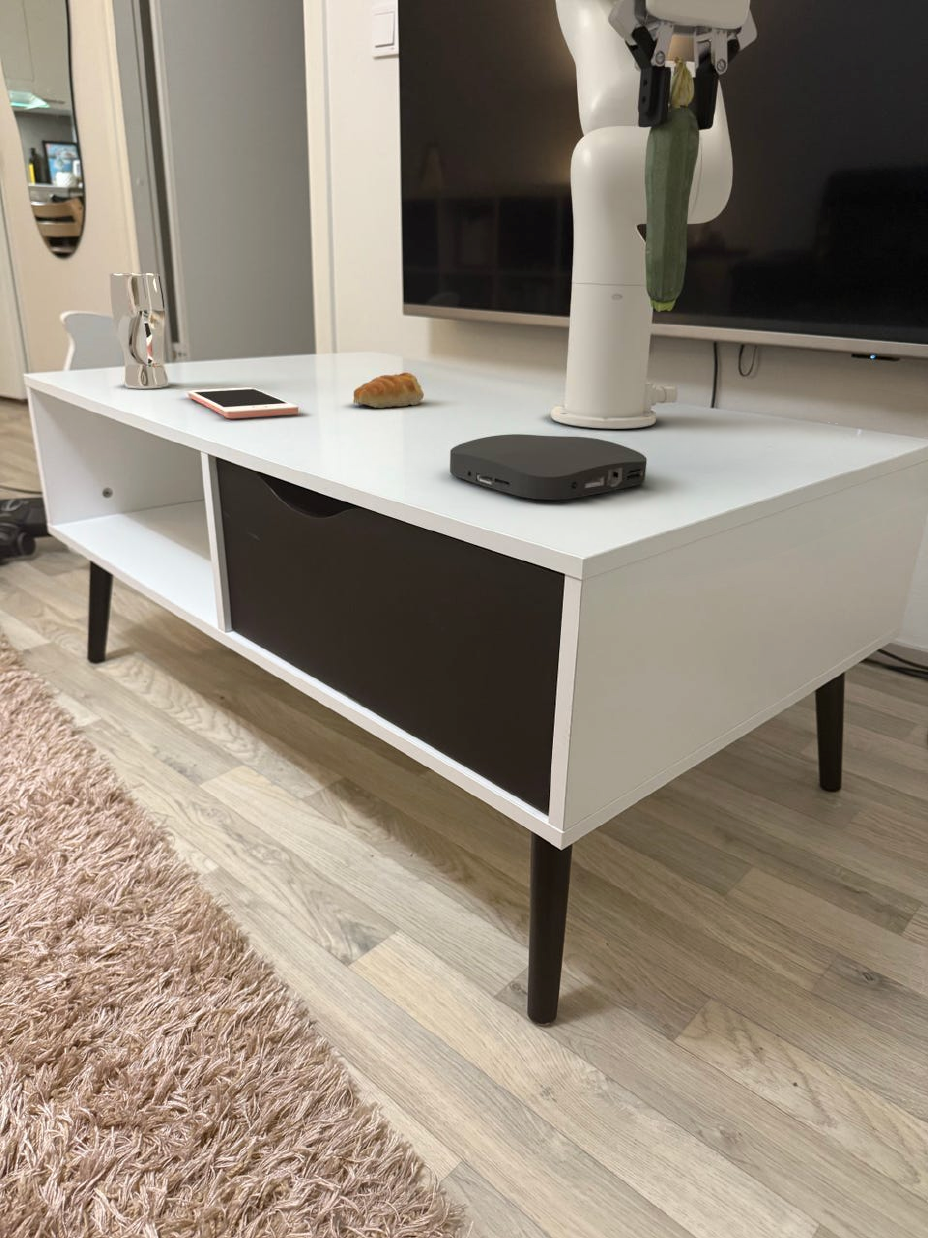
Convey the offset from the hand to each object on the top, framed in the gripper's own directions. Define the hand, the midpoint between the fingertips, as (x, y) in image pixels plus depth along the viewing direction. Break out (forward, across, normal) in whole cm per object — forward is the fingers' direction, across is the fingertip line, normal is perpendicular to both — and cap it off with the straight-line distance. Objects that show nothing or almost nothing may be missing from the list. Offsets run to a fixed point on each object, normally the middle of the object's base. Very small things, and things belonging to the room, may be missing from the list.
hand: (675, 125), depth 75 cm
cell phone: (+29, +28, -46) cm, 62 cm away
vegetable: (+15, 0, 0) cm, 15 cm away
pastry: (+29, +10, -43) cm, 53 cm away
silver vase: (+29, +37, -68) cm, 83 cm away
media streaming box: (+29, +11, +1) cm, 31 cm away
